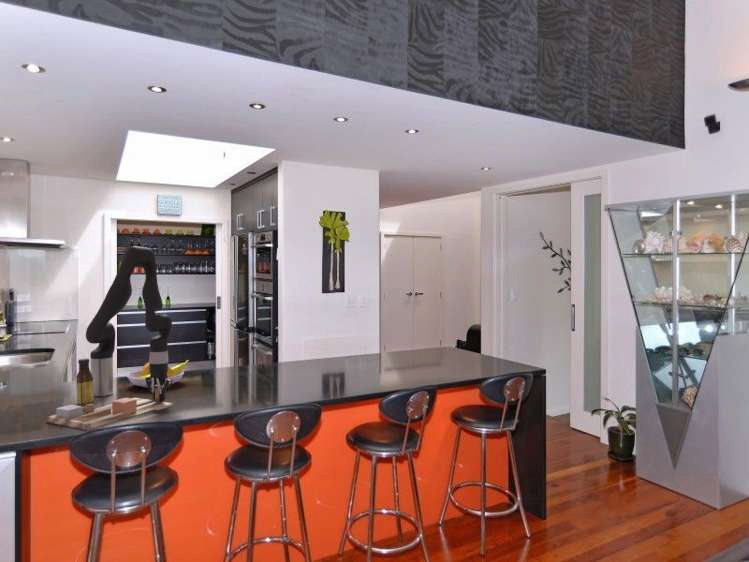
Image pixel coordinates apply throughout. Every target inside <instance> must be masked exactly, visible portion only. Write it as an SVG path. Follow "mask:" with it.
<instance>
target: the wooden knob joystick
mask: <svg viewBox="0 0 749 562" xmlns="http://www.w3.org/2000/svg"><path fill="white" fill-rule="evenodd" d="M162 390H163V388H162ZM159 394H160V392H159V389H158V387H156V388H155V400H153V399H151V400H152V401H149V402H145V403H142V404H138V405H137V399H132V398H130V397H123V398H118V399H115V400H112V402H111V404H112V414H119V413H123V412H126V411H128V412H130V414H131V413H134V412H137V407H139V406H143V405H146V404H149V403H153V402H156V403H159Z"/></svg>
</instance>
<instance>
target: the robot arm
mask: <svg viewBox="0 0 749 562" xmlns="http://www.w3.org/2000/svg"><path fill="white" fill-rule="evenodd" d="M135 268H141V269H143V271H144V274H145V275H144V276H145V280H144V283H143V286H142V291H141V296H142V300H143V301H142V302H143V305H144V309H145V310H144V311H145V313H144V315H145V318H144V319H145V320H144V326H145V328H146V330H147V331H148V332H150V333H157V332H158V335H156V336H154V337H151V338H150V339H149V355H148V356H149V357H148V358H149V360H148V362H149V372H150V373H151V375H150V377H147V378H145V380H146V383H147V386H148V388H147V389H148V391H149V392H151V393H152V400H155V387H158V389H159V392H160V394H159V402H166V393H169V392H170V389H171V386H172V385H173V384H172V381H173V380H172V379H168V377H167V372H168V367H169V353H168V344H169V342H168V341H169V337H170V334H171V330H172V326H173V321H172V318H171V316H169V314H156V312H158V311H160V310H161V311H162V309H163V307H164V305H163V301H162V296H161V293H160V289H159V285H158V274H157V264H156V258H155V253H154V250H152V248H150V247H145V246H138V245H132V246H129V247H128V248H127V249H126V251H125V252H124V254H123V257H122V260H121V263H120V265H119V269H118V270H117V273H116V275H115V277H114V279H113V281H112V283H111V285H110V287H109V289H108V291H107V293H106V295H105V297H104V299H103V302H102V303H101V305H100V307H99V308H98V310H97V312H96V313H95V315H94V317H93V318H92V320H91V321H90V323H89V324H88V326H87V327H86V331H85V339H86V341H87V343H89V344H95V345H96V344H98V346H97V347H96V348H95V349H94V350H92V351H91V352H90V353H89V354H90V358H89V369H90V372H91V374H92V377H93V389H94V396H101V397H107V395H108V396H111V395H113V394H114V352H115V349H116V328H115V325H114V324H113V323H112V322H110V321H111V320H112V319H113V318H114V317H116V315H117V314H120V312H121V311H122V310H123V309H125V307H126V305H127V304H128V303H129V300H130V298H131V296H132V294H133V293H132V292H133V288H132V283H131V276H132V274H133V272H134V270H135ZM171 384H172V385H171ZM150 385H151V386H150ZM161 385H163V386H161ZM151 387H152V388H151ZM162 388H163V390H162Z"/></svg>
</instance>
